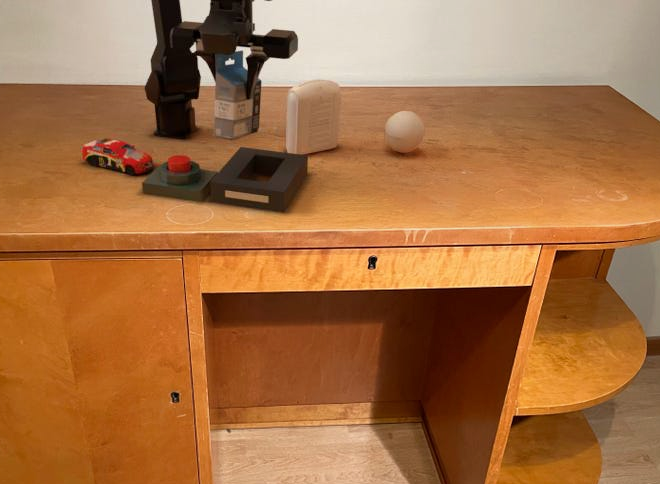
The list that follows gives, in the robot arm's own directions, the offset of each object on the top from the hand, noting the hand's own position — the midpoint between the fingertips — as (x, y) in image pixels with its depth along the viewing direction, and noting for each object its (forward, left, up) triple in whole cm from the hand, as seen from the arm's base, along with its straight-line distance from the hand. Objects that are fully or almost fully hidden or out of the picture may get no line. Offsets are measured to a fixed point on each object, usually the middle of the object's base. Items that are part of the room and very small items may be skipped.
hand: (236, 97), depth 112 cm
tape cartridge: (0, 0, -6) cm, 6 cm away
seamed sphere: (+24, +20, -14) cm, 34 cm away
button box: (-7, -7, -13) cm, 17 cm away
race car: (-21, -2, -13) cm, 25 cm away
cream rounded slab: (+9, +16, -14) cm, 23 cm away
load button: (-7, -7, -10) cm, 14 cm away
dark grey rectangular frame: (+5, -3, -13) cm, 15 cm away
